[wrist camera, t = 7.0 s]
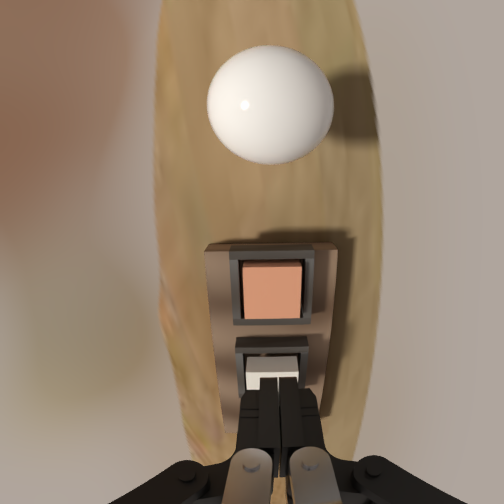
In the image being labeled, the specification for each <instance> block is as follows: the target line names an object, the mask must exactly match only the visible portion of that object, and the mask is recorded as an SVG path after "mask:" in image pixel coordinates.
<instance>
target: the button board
mask: <svg viewBox="0 0 504 504" xmlns="http://www.w3.org/2000/svg"><path fill="white" fill-rule="evenodd" d="M204 256H205V268H206V279H207V290H208V301H209V311H210V320H211V329H212V338H213V347H214V356H215V364H216V372H217V379H218V387H219V394H220V401H221V408H222V415H223V422H224V429H225V433H237V432H238V422H239V412H240V401H241V397H242V396H243V394H244V393H245V392H246V390H247V385H246V365H247V357H283V356H297V363H298V370H299V374H298V389H302V388H310V389H311V390H312V392H313V393H314V394H315V396H316V398H317V403H318V409H320V404H321V398H322V392H323V385H324V379H325V372H326V365H327V358H328V351H329V343H330V334H331V326H332V316H333V307H334V296H335V284H336V271H337V256H338V249H337V248H336V247H335V245H334V244H333V243H332V242H323V243H252V244H209V245H208V246H207V248H206V250H205V251H204ZM253 259H299V260H300V263H301V266H302V275H301V301H300V318H281V319H245V313H244V291H243V262H244V260H253Z"/></svg>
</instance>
